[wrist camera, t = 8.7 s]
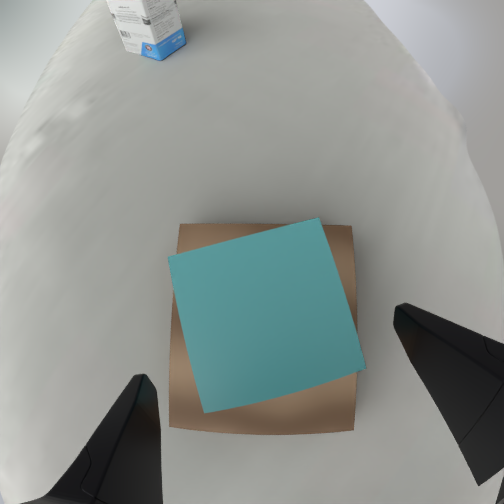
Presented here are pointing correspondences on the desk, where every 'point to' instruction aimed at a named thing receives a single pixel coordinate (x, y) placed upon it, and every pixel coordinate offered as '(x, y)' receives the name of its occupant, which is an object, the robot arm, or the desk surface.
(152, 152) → the desk surface
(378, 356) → the desk surface
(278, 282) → the teal tall block
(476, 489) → the desk surface
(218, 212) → the desk surface
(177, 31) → the ink box
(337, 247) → the walnut stand
